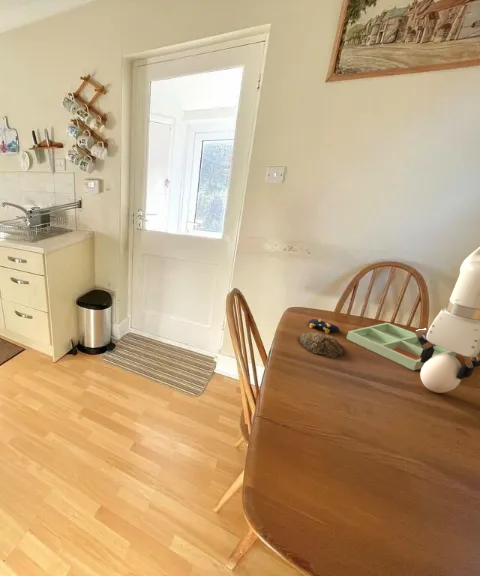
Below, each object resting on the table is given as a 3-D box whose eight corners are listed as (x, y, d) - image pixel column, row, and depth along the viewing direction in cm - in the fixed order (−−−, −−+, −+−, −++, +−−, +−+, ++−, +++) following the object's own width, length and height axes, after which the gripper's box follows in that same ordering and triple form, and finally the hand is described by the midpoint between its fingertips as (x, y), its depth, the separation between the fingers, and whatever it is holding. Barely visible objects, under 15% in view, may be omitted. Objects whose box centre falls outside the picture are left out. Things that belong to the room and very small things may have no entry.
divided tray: (384, 330, 120) (387, 322, 119) (454, 359, 102) (458, 349, 101) (345, 339, 115) (348, 331, 113) (412, 371, 96) (417, 362, 95)
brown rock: (296, 336, 117) (299, 324, 116) (336, 342, 113) (339, 330, 111) (304, 354, 106) (307, 341, 104) (348, 361, 102) (352, 348, 100)
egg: (442, 384, 89) (458, 349, 85) (459, 402, 83) (477, 365, 79) (409, 379, 92) (423, 345, 88) (423, 396, 85) (439, 360, 81)
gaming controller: (340, 329, 120) (338, 322, 116) (333, 340, 119) (331, 334, 116) (312, 319, 127) (310, 313, 124) (306, 330, 127) (303, 324, 123)
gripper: (530, 322, 72) (497, 385, 78) (434, 295, 87) (413, 350, 94) (511, 328, 70) (478, 392, 76) (416, 299, 85) (395, 355, 92)
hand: (442, 368), depth 85 cm, fingers closed on egg, 7 cm apart
